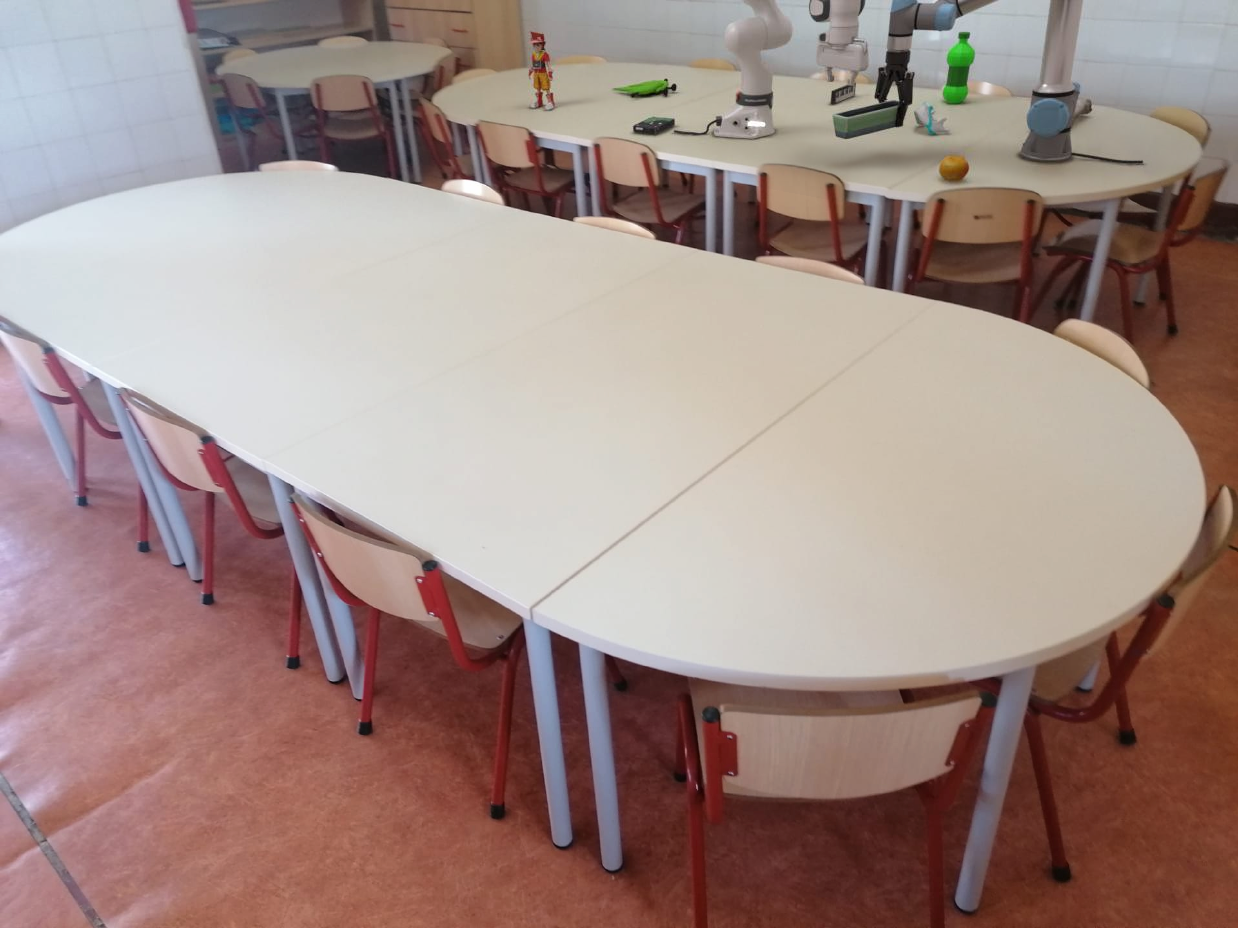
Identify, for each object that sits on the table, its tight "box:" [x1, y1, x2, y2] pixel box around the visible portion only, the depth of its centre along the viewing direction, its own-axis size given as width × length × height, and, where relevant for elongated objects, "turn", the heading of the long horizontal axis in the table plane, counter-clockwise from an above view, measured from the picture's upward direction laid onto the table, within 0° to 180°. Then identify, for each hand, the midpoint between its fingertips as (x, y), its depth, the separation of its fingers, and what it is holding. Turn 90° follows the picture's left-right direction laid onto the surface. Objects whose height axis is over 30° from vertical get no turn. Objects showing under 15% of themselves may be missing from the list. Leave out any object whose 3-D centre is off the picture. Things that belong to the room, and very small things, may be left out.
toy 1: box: [527, 31, 556, 111], centre depth 374 cm, size 12×9×30 cm
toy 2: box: [612, 78, 677, 99], centre depth 396 cm, size 28×5×30 cm
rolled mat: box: [1073, 97, 1093, 121], centre depth 320 cm, size 30×9×10 cm
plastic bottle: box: [942, 31, 976, 104], centre depth 348 cm, size 10×10×25 cm
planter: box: [832, 99, 910, 140], centre depth 293 cm, size 28×7×7 cm, turn 121°
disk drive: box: [632, 116, 676, 136], centre depth 344 cm, size 10×3×15 cm
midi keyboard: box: [830, 81, 857, 105], centre depth 365 cm, size 18×1×5 cm, turn 138°
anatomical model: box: [913, 101, 951, 135], centre depth 322 cm, size 15×10×10 cm
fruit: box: [938, 154, 970, 182], centre depth 276 cm, size 8×8×8 cm
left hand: (840, 83), depth 286 cm, fingers open, 8 cm apart
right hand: (890, 124), depth 298 cm, fingers closed on planter, 7 cm apart
